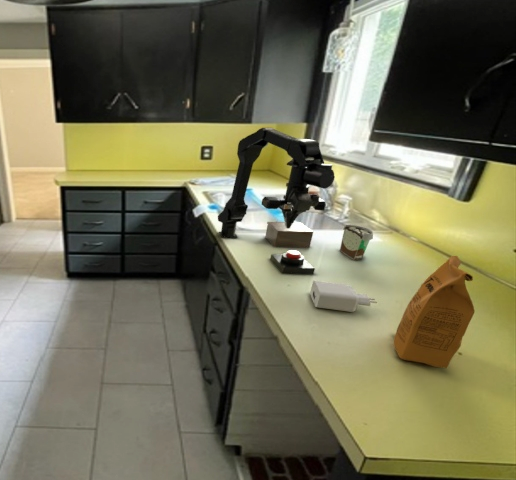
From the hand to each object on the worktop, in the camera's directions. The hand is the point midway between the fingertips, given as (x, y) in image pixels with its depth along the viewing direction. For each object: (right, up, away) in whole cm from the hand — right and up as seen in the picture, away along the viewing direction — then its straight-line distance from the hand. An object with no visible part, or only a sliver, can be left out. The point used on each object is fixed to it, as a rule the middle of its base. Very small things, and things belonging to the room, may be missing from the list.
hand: (287, 228), depth 123 cm
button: (+2, -10, 0) cm, 10 cm away
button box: (+2, -13, +1) cm, 13 cm away
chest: (+11, -3, +24) cm, 26 cm away
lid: (+11, +2, +22) cm, 24 cm away
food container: (+30, -9, +11) cm, 34 cm away
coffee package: (+10, -33, -42) cm, 54 cm away
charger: (+5, -24, -22) cm, 33 cm away
